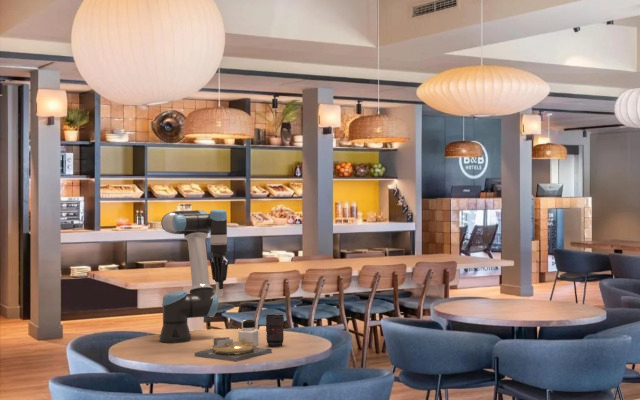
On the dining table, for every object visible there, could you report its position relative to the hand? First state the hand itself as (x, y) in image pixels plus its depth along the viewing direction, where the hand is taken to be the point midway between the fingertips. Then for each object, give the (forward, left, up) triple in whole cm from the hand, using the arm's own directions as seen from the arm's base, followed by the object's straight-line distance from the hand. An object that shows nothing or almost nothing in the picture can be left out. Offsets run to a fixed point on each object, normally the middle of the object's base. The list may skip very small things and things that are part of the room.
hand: (219, 296), depth 416 cm
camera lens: (+15, +21, -25) cm, 36 cm away
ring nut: (+12, -5, -23) cm, 26 cm away
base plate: (+12, -5, -24) cm, 28 cm away
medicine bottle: (+4, +15, -25) cm, 29 cm away
